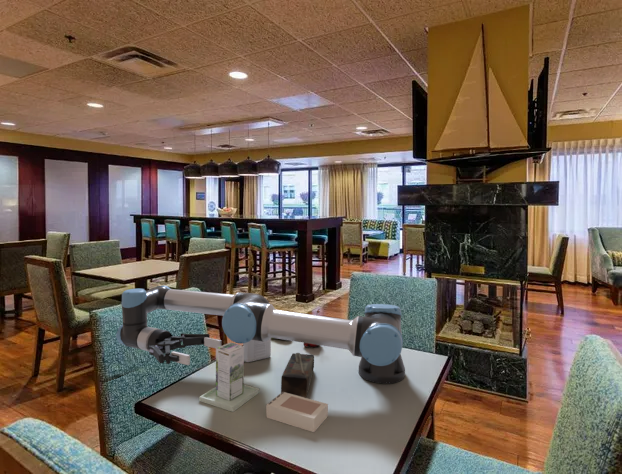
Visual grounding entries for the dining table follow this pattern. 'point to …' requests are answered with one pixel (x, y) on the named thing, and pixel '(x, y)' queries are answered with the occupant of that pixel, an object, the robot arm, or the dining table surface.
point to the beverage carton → (298, 374)
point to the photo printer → (256, 350)
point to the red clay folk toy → (311, 344)
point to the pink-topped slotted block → (297, 411)
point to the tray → (225, 404)
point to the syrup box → (229, 371)
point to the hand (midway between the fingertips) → (205, 352)
